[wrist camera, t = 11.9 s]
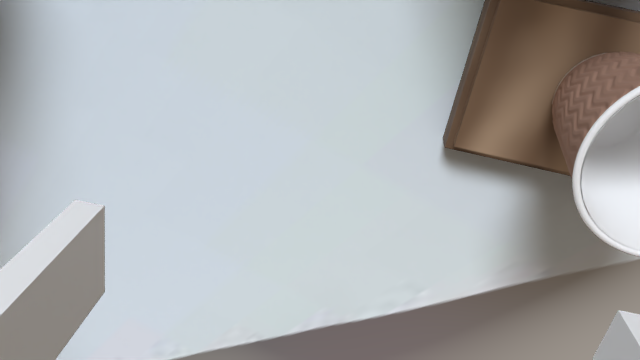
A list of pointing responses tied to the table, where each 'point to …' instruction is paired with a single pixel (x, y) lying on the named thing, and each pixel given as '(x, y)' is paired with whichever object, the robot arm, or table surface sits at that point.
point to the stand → (529, 74)
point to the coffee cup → (603, 144)
